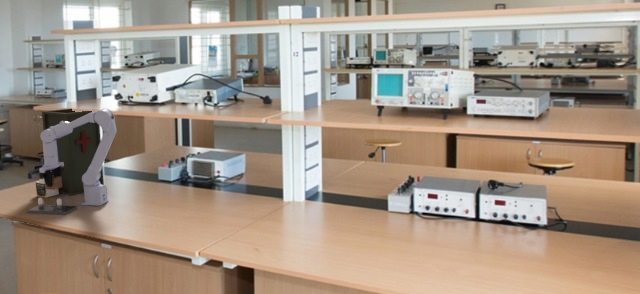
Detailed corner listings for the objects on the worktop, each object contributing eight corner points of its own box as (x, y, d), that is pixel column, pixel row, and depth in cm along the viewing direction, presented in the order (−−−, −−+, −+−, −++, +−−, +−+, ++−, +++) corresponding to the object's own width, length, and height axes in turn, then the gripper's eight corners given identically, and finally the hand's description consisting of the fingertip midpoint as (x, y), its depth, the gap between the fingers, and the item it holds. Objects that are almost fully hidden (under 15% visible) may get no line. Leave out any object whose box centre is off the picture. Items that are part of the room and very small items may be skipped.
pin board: (77, 208, 250) (76, 196, 249) (65, 214, 242) (64, 201, 241) (40, 207, 253) (39, 194, 252) (27, 212, 245) (26, 199, 244)
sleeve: (62, 186, 257) (61, 176, 257) (55, 189, 253) (54, 178, 252) (52, 186, 258) (51, 175, 257) (45, 189, 253) (44, 178, 253)
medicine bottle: (36, 196, 272) (34, 171, 270) (49, 192, 279) (47, 169, 277) (46, 197, 269) (44, 173, 267) (59, 194, 275) (57, 170, 273)
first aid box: (71, 195, 273) (65, 113, 266) (48, 190, 282) (41, 111, 276) (104, 187, 288) (98, 110, 282) (81, 183, 298) (75, 108, 291)
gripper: (53, 152, 261) (55, 181, 263) (32, 158, 246) (35, 188, 249) (66, 152, 259) (69, 181, 262) (46, 158, 245) (49, 189, 248)
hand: (53, 185), depth 255 cm, fingers closed on sleeve, 5 cm apart
